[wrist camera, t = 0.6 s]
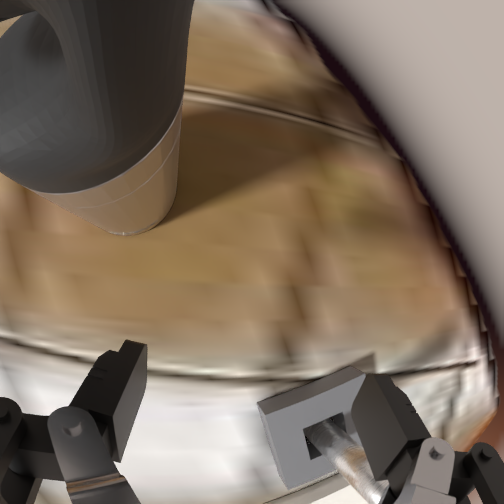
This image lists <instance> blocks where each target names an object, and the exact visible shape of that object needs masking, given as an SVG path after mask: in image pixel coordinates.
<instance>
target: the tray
mask: <svg viewBox="0 0 504 504" xmlns="http://www.w3.org/2000/svg"><path fill="white" fill-rule="evenodd" d="M264 504H369V503H368V502H367V501H366V500H365V499H364V498H363V497H362V496H361V495H360V494H359V493H358V492H357V491H356V490H355V489H354V488H353V487H352V486H351V485H350V484H349V483H348V482H347V481H346V480H345V479H344V478H343V477H342V475H341V474H340V473H338V474H336V475H334V476H332V477H330V478H328V479H325V480H323V481H321V482H319V483H316V484H314V485H312V486H309V487H307V488H305V489H302V490H300V491H297V492H294V493H292V494H289V495H287V496H284V497H281V498H278V499H276V500H273V501H270V502H267V503H264Z"/></svg>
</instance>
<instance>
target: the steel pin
mask: <svg viewBox="0 0 504 504" xmlns="http://www.w3.org/2000/svg"><path fill="white" fill-rule="evenodd" d="M303 432H304V434H305V436H306V437H307V438H308V439H309V440H310V441H311V442H312V444H313V445H314V446H315V447H316V448H317V449H318V450H319V451H320V453H321V454H322V455H323V456H324V457H325V458H326V459H327V460H328V461H329V463H330V464H331V465H332V466H333V467H334V468H335V469H336V470H337V471H338V472H339V473H340V474H341V475H342V477H343V478H344V479H345V480H346V481H347V482H348V483H349V484H350V485H351V486H352V487H353V488H354V489H355V490H356V491H357V492H358V493H359V494H360V495H361V496H362V497H363V498H364V499H365V500H366V501H367V502H368V503H369V504H378V503H379V501H380V498H381V496H382V494H383V492H384V489H385V488H386V486H387V485H388V484H389V482H388V480H383V481H376V482H375V479H374V476H373V473H372V471H371V468H370V465H369V462H368V460H367V457H366V454H365V452H364V449H363V447H362V446H361V445H359V444H358V443H357V442H356V441H355V440H354V439H352V438H351V437H350V436H349V435H348V434H347V433H345V432H344V431H343V430H342V429H341V428H340V427H338V426H337V425H336V424H335V423H334V422H333V421H332V420H330V419H329V418H327V419H325V420H323V421H320V422H318V423H316V424H313V425H311V426H309V427H306V428H304V429H303Z"/></svg>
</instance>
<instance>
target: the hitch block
mask: <svg viewBox="0 0 504 504" xmlns="http://www.w3.org/2000/svg"><path fill="white" fill-rule="evenodd" d="M365 377H366V376H365V373H363V372H361V371H360V370H358V369H356V368H354V367H352V366H349V367H347V368H345V369H342V370H340V371H338V372H336V373H333V374H331V375H329V376H326V377H324V378H321V379H319V380H317V381H314V382H312V383H309V384H307V385H304V386H302V387H299V388H296V389H294V390H291V391H288V392H286V393H283V394H280V395H278V396H275V397H272V398H269V399H266V400H263V401H260V402H257V405H258V409H259V412H260V415H261V419H262V422H263V425H264V428H265V432H266V435H267V438H268V441H269V444H270V448H271V451H272V454H273V457H274V460H275V463H276V466H277V469H278V473H279V476H280V477H281V479H282V481H283V482H284V484H285V486H286V487H287V489H288V490H289V489H292V488H294V487H297V486H299V485H302V484H304V483H307V482H309V481H312V480H314V479H316V478H318V477H321V476H323V475H325V474H327V473H330V472H332V471H334V470H336V469H335V468H334V467H333V466H332V465H331V464H330V463H329V461H328V460H327V459H326V458H325V457H324V456H323V455H322V454H321V453H320V451H319V450H318V449H317V448H316V447H315V446H314V445H313V444H312V443H309V444H306V440H305V436H304V432H303V429H304V428H306V427H309V426H311V425H313V424H316V423H318V422H320V421H323V420H325V419H327V418H329V417H332V416H333V419H334V423H335V424H336V425H337V426H338V427H340V428H341V429H342V430H343V431H344V432H345V433H347V434H348V435H349V436H350V437H351V438H352V439H354V440H355V441H356V442H357V443H358V444H359V445H361V446H362V444H361V441H360V438H359V436H358V433H357V430H356V428H355V425H354V422H353V420H352V416H351V408H352V404H353V401H354V399H355V397H356V395H357V393H358V391H359V389H360V387H361V385H362V383H363V381H364V379H365ZM362 447H363V446H362Z"/></svg>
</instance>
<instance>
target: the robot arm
mask: <svg viewBox="0 0 504 504" xmlns="http://www.w3.org/2000/svg"><path fill="white" fill-rule="evenodd" d="M193 4H194V0H0V22H1V21H4V20H7V19H10V18H13V17H17V16H20V15H23V14H24V15H23V16H21V17H20V18H19V19H18V20H17V21H16V22H15V23H14V24H13V25H12V26H11V27H10V28H9V29H8V30H7V31H6V32H5V33H4V34H3V35H2V36H1V38H0V172H1V173H2V174H4V175H5V176H7V177H9V178H10V179H12V180H14V181H15V182H17V183H19V184H21V185H22V186H24V187H26V188H28V189H29V190H31V191H33V192H35V193H36V194H38V195H40V196H42V197H43V198H45V199H47V200H49V201H51V202H53V203H55V204H57V205H58V206H60V207H62V208H64V209H66V210H67V211H69V212H71V213H73V214H75V215H77V216H79V217H80V218H82V219H84V220H86V221H88V222H90V223H92V224H93V225H95V226H97V227H99V228H101V229H103V230H105V231H107V232H109V233H112V234H116V235H124V236H130V235H137V234H140V233H143V232H145V231H148V230H150V229H151V228H153V227H154V226H156V225H157V224H158V223H159V222H160V221H161V220H162V219H164V218H165V216H166V215H167V213H168V212H169V210H170V209H171V207H172V204H173V202H174V200H175V195H176V190H177V177H178V160H179V145H180V132H181V119H182V105H183V95H184V85H185V73H186V59H187V47H188V35H189V28H190V21H191V15H192V8H193ZM146 383H147V344H143V343H139V342H134V341H130V340H125V341H124V343H123V345H122V347H121V348H120V350H119V352H116V351H112V350H109V351H107V352H105V353H104V354H102V355H101V356H99V357H98V359H97V360H96V362H95V364H94V365H93V368H91V370H90V372H89V373H88V376H87V377H86V378H85V380H84V381H83V383H82V385H81V386H80V388H79V390H78V391H77V393H76V395H75V396H74V398H73V400H72V402H71V403H70V405H69V406H67V407H61V408H59V409H57V410H55V411H54V412H52V414H51V415H50V416H41V415H33V414H25V413H22V411H21V409H20V407H19V405H18V404H17V403H16V402H15V401H13V400H11V399H9V398H5V397H0V504H34V502H35V499H36V496H37V493H38V491H39V488H40V485H41V483H42V480H43V479H49V480H58V481H65V482H66V485H67V487H66V488H67V491H68V494H69V497H70V499H71V501H72V504H141V503H140V502H139V500H138V498H137V497H136V495H135V493H134V492H133V490H132V488H131V486H130V485H129V483H128V481H127V480H126V478H125V477H124V476H123V475H120V473H119V471H118V470H117V468H116V466H115V464H114V462H113V461H115V462H119V463H121V459H122V456H123V453H124V450H125V447H126V444H127V441H128V438H129V436H130V433H131V430H132V427H133V424H134V421H135V418H136V415H137V412H138V410H139V407H140V404H141V401H142V398H143V396H144V393H145V389H146ZM351 416H352V420H353V422H354V425H355V428H356V430H357V433H358V436H359V438H360V441H361V444H362V446H363V449H364V452H365V454H366V457H367V460H368V462H369V465H370V468H371V471H372V473H373V476H374V479H375V482H376V481H383V480H388V482H389V484H388V485H387V486H386V488H385V489H384V492H383V494H382V496H381V498H380V501H379V503H378V504H471V503H470V500H469V498H468V496H467V495H468V494H470V492H471V491H473V490H474V489H475V488H476V490H477V492H478V494H479V496H480V498H481V500H482V502H483V504H504V463H503V461H502V460H501V458H500V456H499V454H498V453H497V451H496V450H495V449H494V448H493V447H492V446H491V445H489V444H486V443H482V442H479V443H476V444H474V445H473V447H472V448H471V449H470V450H469V452H458V451H454V450H453V448H452V447H451V445H450V444H449V443H447V442H446V441H444V440H442V439H440V438H435V437H431V435H430V433H429V432H428V430H427V428H426V427H425V425H424V423H423V422H422V420H421V418H420V417H419V415H418V413H416V410H415V408H414V406H412V403H411V402H410V400H409V398H408V397H407V395H406V394H405V393H404V392H403V391H402V390H400V389H399V388H398V387H396V386H395V385H394V383H393V381H392V380H391V378H390V377H389V375H387V374H368V375H367V376H366V377H365V379H364V381H363V383H362V385H361V387H360V389H359V391H358V393H357V395H356V397H355V399H354V401H353V404H352V408H351Z"/></svg>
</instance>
